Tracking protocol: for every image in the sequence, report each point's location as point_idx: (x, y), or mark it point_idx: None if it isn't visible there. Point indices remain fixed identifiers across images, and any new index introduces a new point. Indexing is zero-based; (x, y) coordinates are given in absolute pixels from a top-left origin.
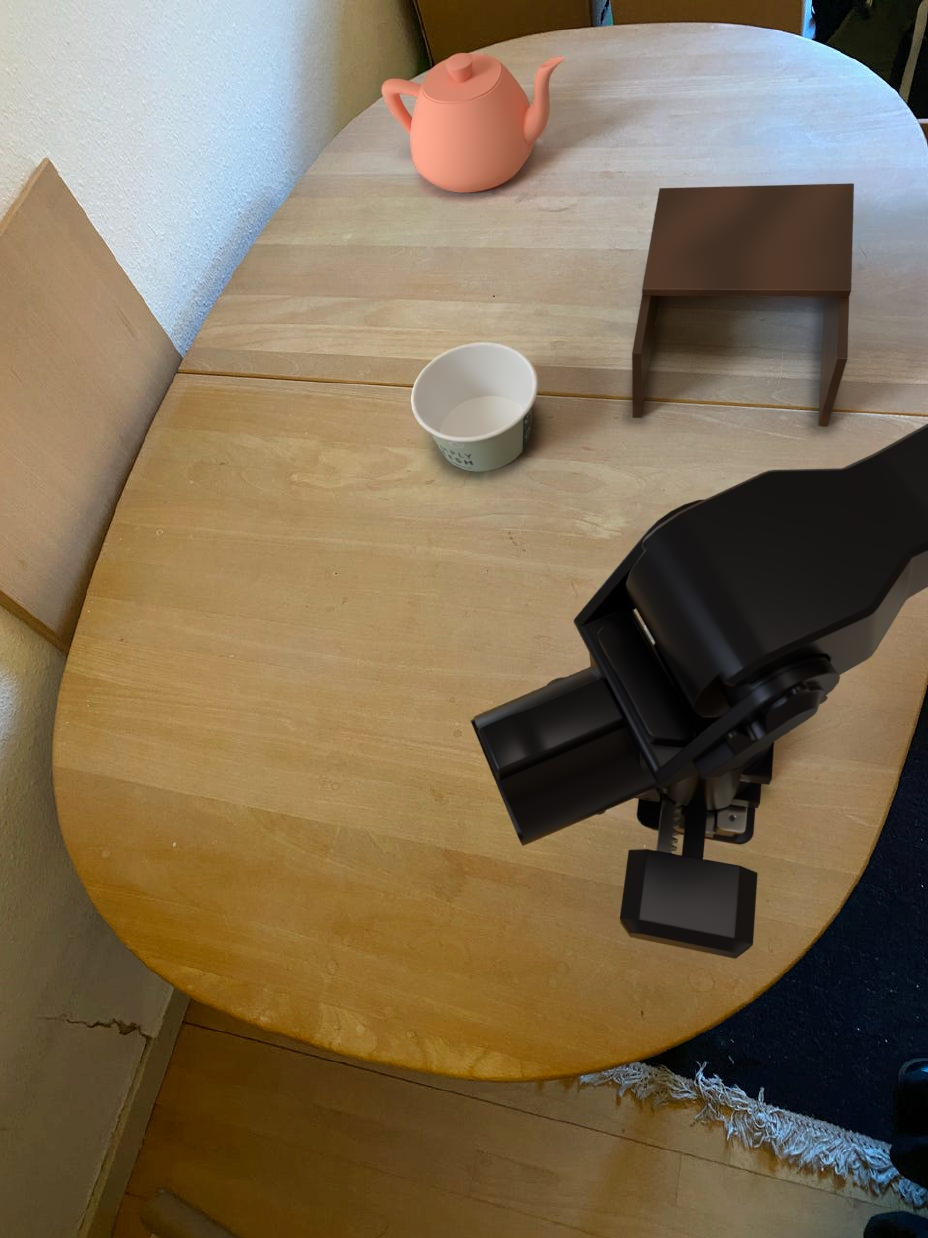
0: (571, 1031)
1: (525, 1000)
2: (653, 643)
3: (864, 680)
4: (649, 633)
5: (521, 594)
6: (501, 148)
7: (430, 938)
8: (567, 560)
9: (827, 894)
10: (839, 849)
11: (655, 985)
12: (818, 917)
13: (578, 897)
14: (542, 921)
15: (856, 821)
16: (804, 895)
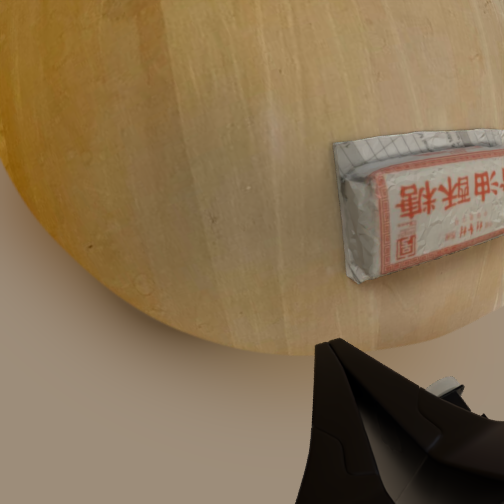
0: (45, 193)
1: (46, 139)
2: (459, 142)
3: (435, 313)
4: (465, 136)
5: (455, 7)
6: None
7: (63, 23)
8: (491, 50)
9: (265, 347)
10: (305, 344)
11: (117, 249)
12: (244, 347)
13: (160, 139)
14: (118, 114)
15: None
16: (258, 335)
